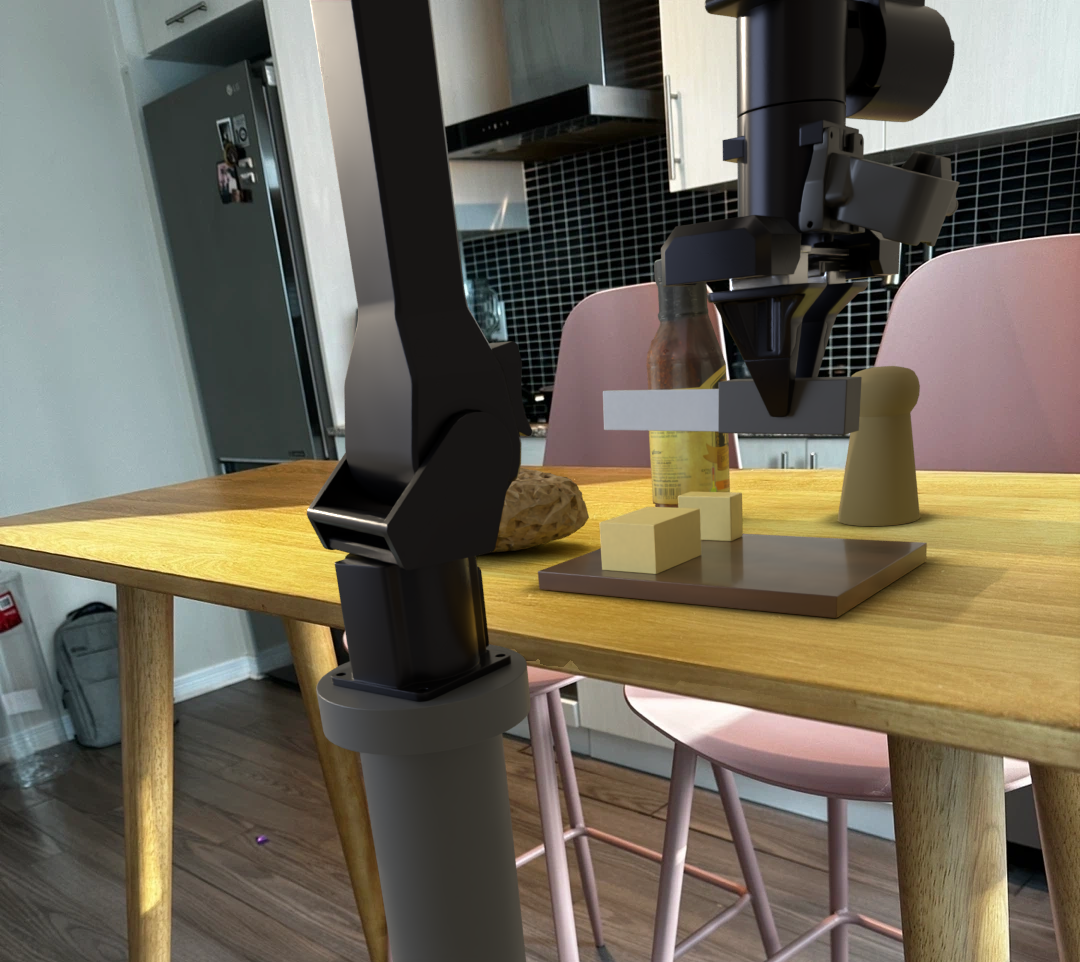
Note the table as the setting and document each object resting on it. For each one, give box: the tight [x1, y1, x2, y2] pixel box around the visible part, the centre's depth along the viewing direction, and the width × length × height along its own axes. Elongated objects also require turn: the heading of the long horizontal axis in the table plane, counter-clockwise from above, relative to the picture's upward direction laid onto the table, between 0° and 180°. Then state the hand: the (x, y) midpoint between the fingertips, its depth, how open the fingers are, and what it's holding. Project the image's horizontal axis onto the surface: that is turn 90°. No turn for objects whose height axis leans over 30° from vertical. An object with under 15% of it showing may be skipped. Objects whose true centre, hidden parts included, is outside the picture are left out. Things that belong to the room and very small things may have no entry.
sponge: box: [492, 467, 590, 553], centre depth 80 cm, size 13×8×20 cm
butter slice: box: [678, 491, 744, 541], centre depth 70 cm, size 2×4×3 cm, turn 54°
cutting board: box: [537, 533, 928, 619], centre depth 65 cm, size 14×20×1 cm
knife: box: [602, 376, 862, 436], centre depth 63 cm, size 2×17×3 cm, turn 52°
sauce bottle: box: [645, 258, 731, 508], centre depth 80 cm, size 6×6×20 cm
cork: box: [837, 365, 921, 527], centre depth 77 cm, size 6×6×11 cm
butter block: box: [598, 506, 701, 574], centre depth 65 cm, size 6×4×3 cm
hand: (788, 414), depth 61 cm, fingers closed on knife, 2 cm apart
